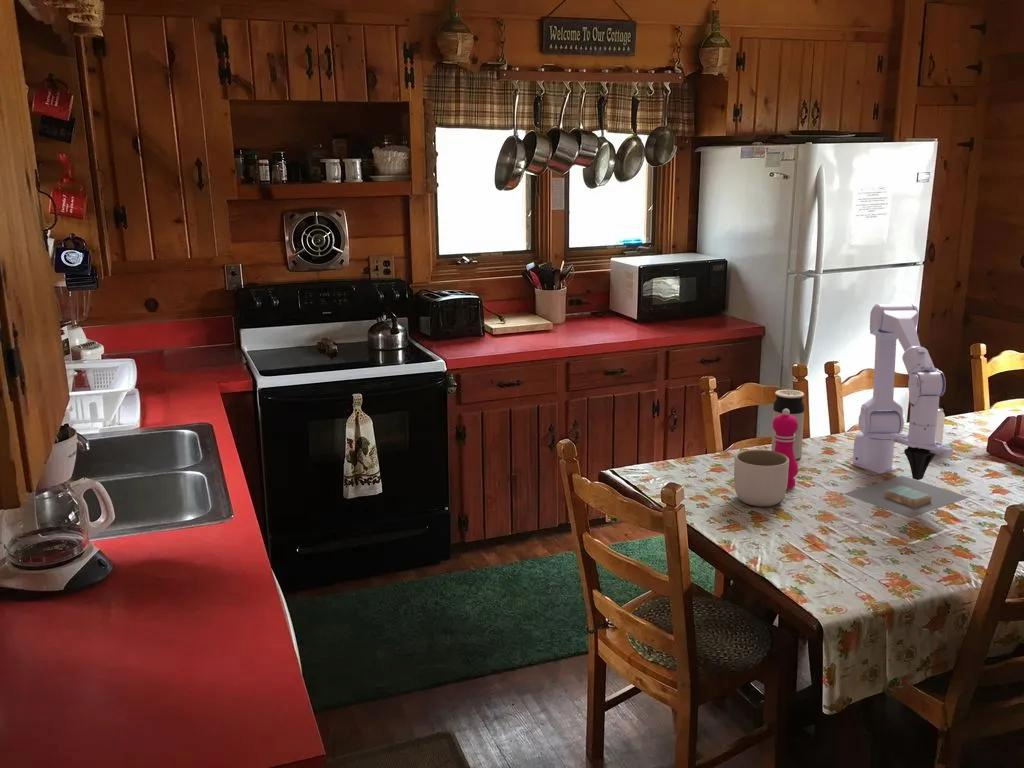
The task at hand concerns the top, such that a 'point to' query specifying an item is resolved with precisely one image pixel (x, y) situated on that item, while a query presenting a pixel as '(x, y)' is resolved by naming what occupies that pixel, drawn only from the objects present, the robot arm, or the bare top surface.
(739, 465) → the planter
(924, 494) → the brown framed teal panel
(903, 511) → the rubber mat
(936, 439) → the can
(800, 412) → the travel mug
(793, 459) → the pepper mill
